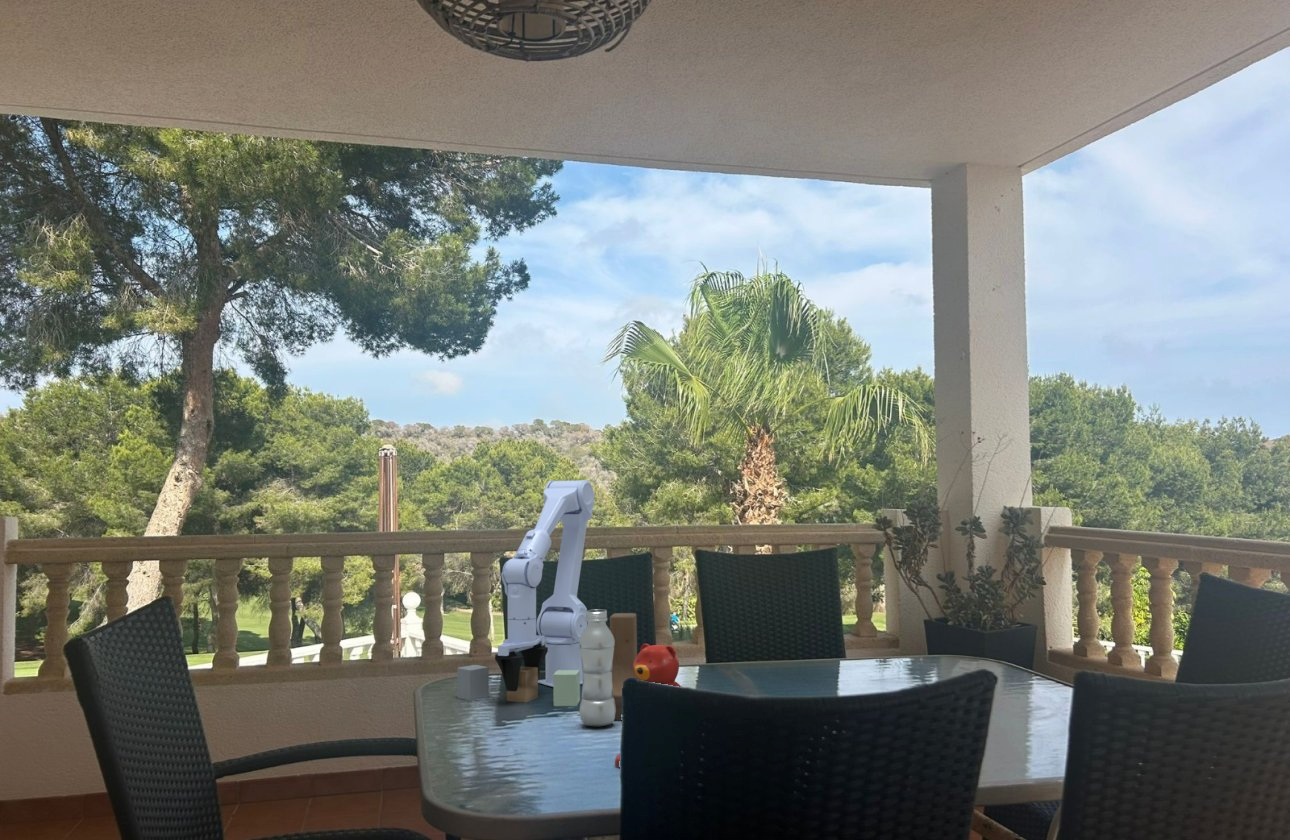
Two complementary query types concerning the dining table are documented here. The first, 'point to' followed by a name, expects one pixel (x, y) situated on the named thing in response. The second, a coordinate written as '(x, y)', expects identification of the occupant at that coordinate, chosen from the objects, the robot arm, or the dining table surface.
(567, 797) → the dining table surface
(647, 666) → the stacking bear
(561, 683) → the sage block
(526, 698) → the walnut block
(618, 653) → the wooden block
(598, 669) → the plastic bottle
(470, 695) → the grey block
